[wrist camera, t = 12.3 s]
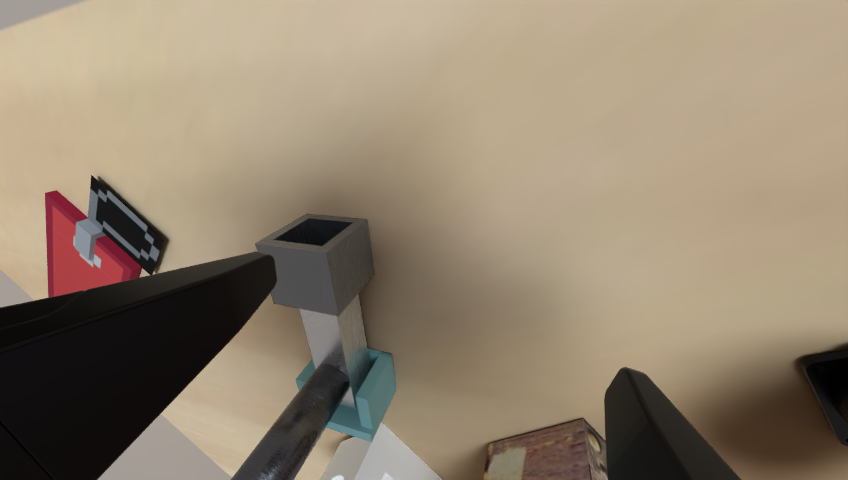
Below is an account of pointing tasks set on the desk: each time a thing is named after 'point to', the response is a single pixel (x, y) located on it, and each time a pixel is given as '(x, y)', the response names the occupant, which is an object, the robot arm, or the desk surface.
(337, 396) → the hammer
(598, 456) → the book
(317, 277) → the outer sleeve
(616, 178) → the desk surface
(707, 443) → the robot arm
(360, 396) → the socket block
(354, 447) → the bracket
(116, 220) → the red board with handle
